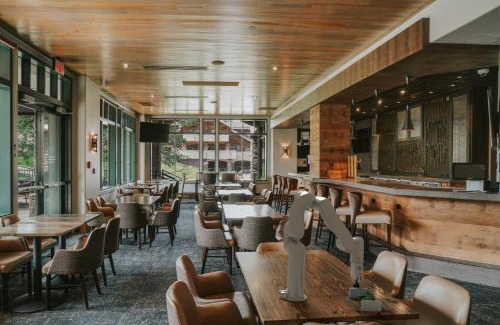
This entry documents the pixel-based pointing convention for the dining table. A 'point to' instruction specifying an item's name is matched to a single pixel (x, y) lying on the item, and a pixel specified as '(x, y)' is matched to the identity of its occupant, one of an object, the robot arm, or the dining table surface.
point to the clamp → (365, 296)
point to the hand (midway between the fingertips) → (356, 291)
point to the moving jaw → (356, 292)
